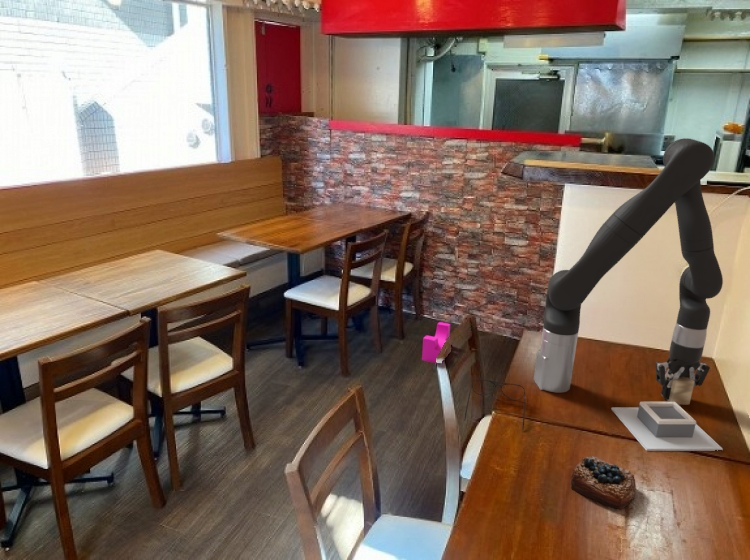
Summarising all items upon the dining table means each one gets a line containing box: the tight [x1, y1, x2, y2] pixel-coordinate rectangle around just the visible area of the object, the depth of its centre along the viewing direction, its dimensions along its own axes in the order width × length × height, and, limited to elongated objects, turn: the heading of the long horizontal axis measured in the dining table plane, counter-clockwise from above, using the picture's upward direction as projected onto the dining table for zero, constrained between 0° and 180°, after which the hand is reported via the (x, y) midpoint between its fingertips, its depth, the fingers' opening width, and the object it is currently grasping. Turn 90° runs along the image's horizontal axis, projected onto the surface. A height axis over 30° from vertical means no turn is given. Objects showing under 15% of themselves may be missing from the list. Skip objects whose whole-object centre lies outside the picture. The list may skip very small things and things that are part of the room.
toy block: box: [421, 321, 451, 364], centre depth 172 cm, size 15×6×8 cm, turn 155°
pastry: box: [570, 455, 637, 511], centre depth 112 cm, size 11×12×6 cm
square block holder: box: [611, 401, 724, 452], centre depth 134 cm, size 18×18×5 cm
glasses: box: [464, 378, 526, 431], centre depth 140 cm, size 14×15×5 cm
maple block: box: [665, 373, 695, 406], centre depth 147 cm, size 5×5×7 cm
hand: (675, 397), depth 148 cm, fingers closed on maple block, 5 cm apart
